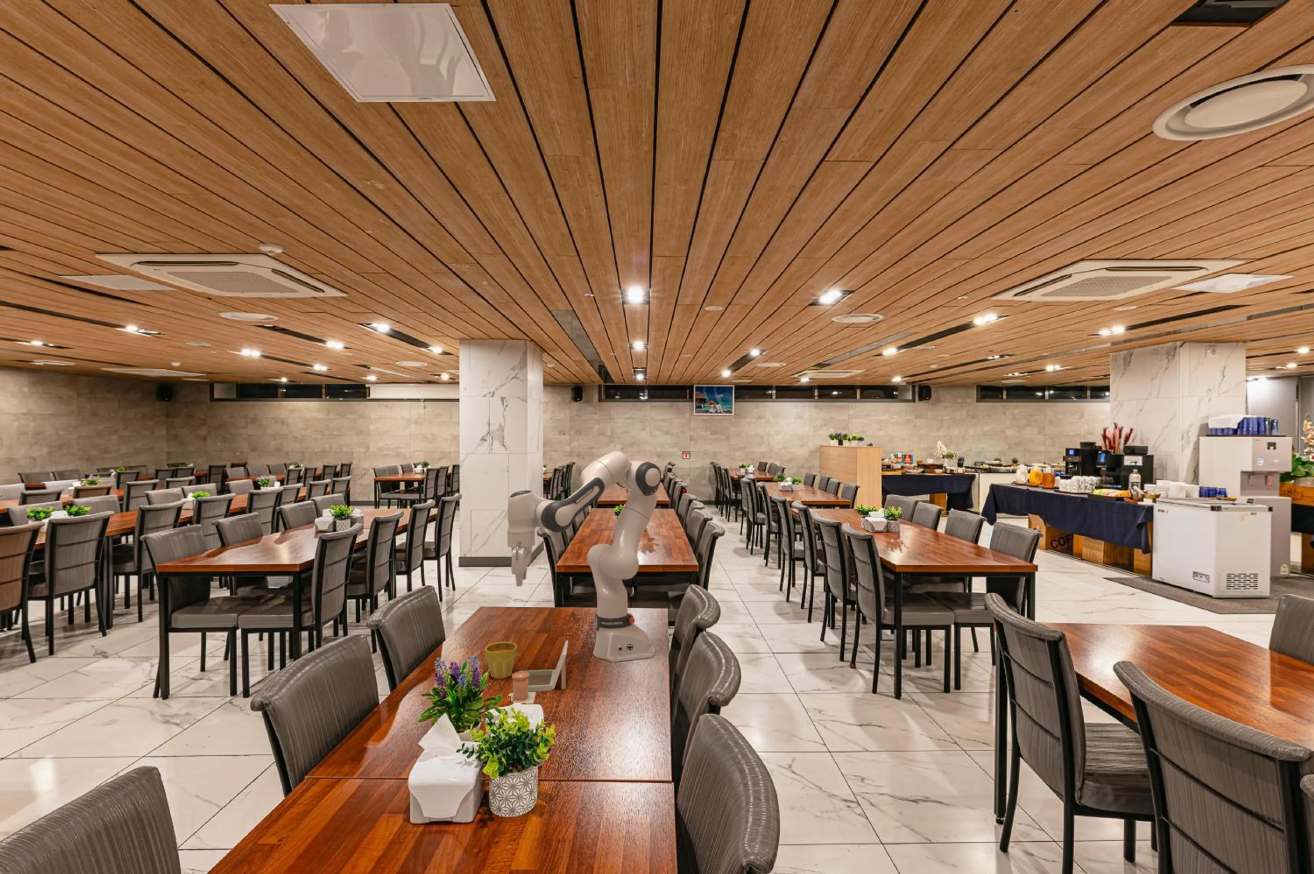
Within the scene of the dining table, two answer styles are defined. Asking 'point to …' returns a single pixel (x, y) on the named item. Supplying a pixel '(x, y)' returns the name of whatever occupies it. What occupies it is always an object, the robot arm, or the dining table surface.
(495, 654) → the plant pot
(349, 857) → the dining table surface
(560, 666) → the propped lid
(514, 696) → the terracotta pot
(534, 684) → the shallow square tray
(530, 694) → the plate
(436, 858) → the dining table surface
